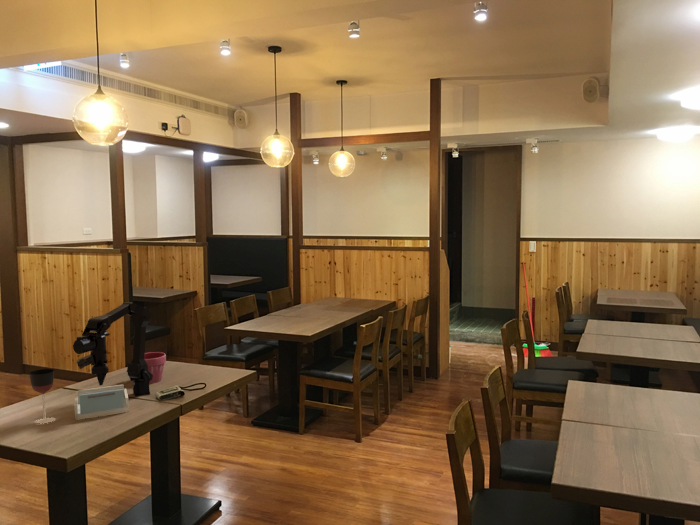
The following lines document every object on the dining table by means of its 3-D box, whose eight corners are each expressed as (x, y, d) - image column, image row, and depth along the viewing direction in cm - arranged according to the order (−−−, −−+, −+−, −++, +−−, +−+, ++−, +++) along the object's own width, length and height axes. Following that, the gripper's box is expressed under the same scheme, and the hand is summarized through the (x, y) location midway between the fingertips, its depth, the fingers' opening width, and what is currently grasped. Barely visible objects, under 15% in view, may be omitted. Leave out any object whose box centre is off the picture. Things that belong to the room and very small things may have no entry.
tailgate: (123, 406, 231) (122, 389, 230) (123, 408, 230) (122, 390, 229) (80, 413, 224) (79, 395, 224) (80, 414, 223) (79, 396, 222)
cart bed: (126, 401, 245) (125, 384, 244) (129, 411, 232) (128, 392, 232) (76, 409, 236) (74, 390, 236) (75, 420, 224) (74, 400, 223)
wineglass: (40, 417, 228) (36, 369, 226) (61, 417, 227) (58, 368, 226) (28, 424, 220) (24, 374, 218) (50, 424, 220) (46, 374, 218)
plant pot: (134, 386, 267) (132, 360, 266) (138, 378, 281) (136, 353, 280) (165, 383, 270) (164, 357, 269) (168, 375, 284) (166, 350, 283)
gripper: (77, 345, 237) (79, 382, 238) (76, 355, 220) (79, 394, 221) (106, 342, 241) (108, 378, 243) (107, 352, 225) (109, 390, 226)
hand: (100, 385), depth 233 cm, fingers closed
